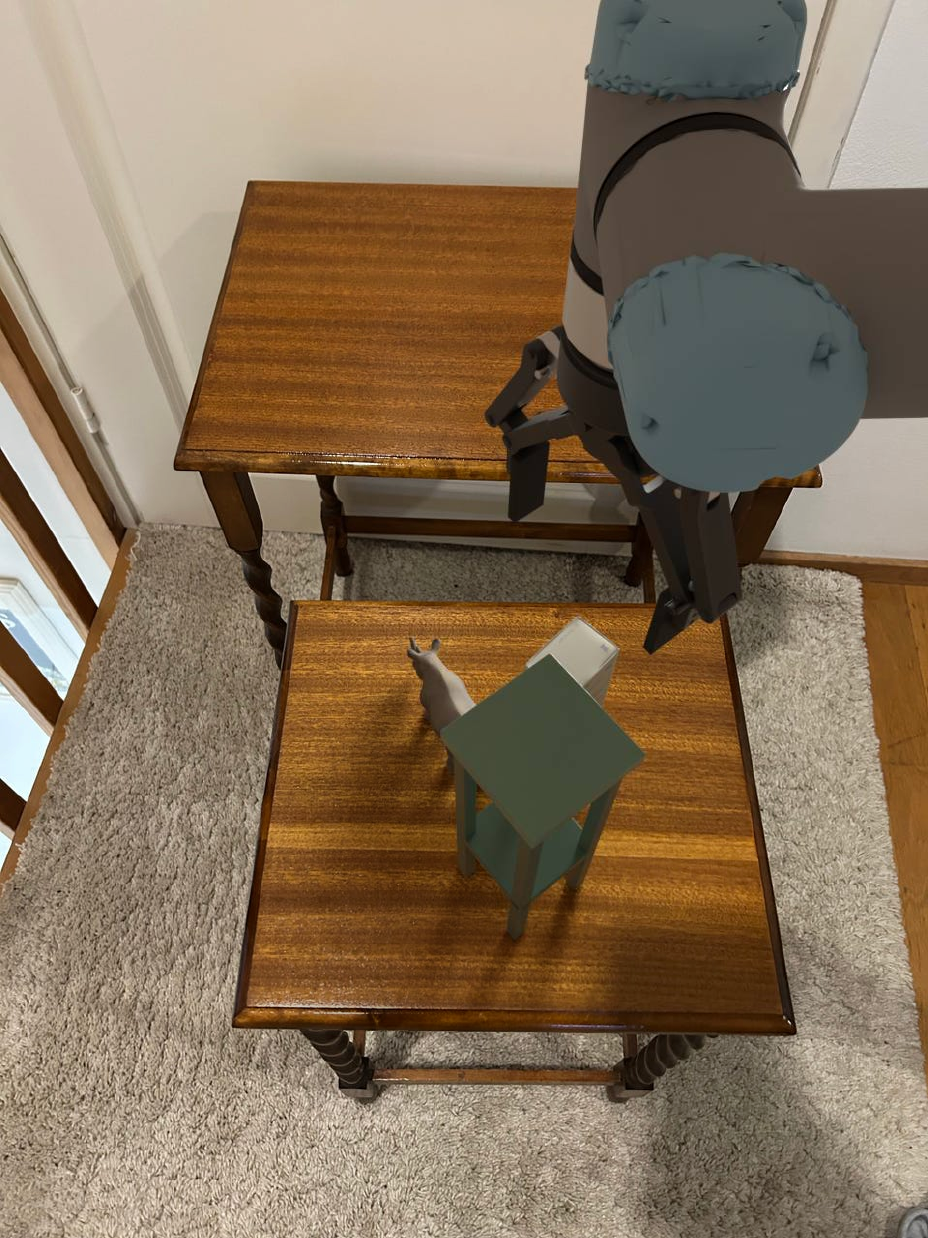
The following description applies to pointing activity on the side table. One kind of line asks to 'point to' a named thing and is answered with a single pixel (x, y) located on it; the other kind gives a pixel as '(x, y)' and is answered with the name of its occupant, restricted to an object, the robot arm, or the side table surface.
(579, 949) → the side table surface
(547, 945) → the side table surface
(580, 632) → the cosmetic box
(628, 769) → the green square board
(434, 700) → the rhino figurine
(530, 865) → the stand
